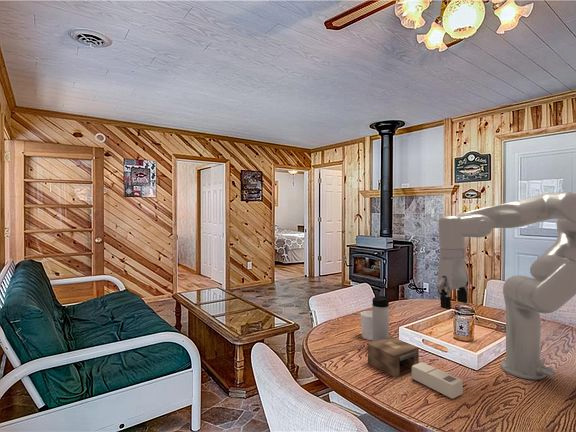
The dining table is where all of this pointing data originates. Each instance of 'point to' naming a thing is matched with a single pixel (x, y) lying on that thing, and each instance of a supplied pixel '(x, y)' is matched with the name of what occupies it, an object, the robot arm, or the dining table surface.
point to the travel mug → (380, 318)
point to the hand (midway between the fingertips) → (454, 305)
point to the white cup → (366, 324)
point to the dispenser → (392, 355)
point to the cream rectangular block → (437, 380)
